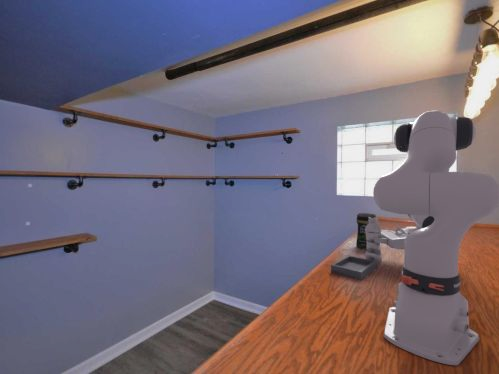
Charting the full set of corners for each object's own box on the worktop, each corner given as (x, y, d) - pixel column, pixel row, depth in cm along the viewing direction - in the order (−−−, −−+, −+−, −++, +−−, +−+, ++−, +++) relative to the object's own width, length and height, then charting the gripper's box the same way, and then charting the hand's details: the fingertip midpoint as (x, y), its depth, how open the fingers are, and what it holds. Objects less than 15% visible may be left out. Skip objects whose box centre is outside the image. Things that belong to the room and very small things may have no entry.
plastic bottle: (384, 265, 109) (384, 219, 108) (367, 264, 110) (366, 218, 109) (379, 260, 115) (379, 216, 114) (363, 259, 116) (363, 216, 116)
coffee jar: (354, 248, 136) (354, 213, 135) (358, 244, 142) (358, 211, 141) (374, 251, 130) (374, 214, 129) (377, 247, 136) (377, 213, 135)
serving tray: (361, 280, 94) (361, 272, 94) (331, 272, 102) (330, 264, 102) (377, 268, 106) (377, 260, 106) (348, 261, 114) (348, 255, 114)
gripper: (396, 226, 120) (365, 226, 122) (416, 236, 100) (378, 235, 102) (396, 240, 120) (365, 239, 123) (416, 252, 100) (378, 251, 102)
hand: (371, 237), depth 112 cm, fingers closed on plastic bottle, 6 cm apart
